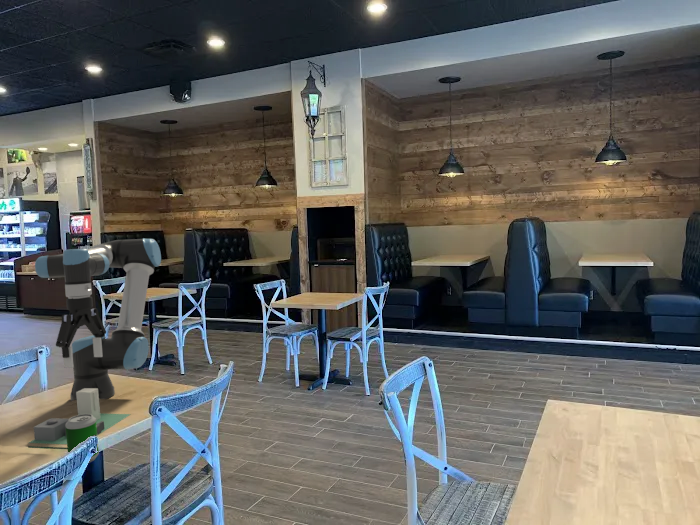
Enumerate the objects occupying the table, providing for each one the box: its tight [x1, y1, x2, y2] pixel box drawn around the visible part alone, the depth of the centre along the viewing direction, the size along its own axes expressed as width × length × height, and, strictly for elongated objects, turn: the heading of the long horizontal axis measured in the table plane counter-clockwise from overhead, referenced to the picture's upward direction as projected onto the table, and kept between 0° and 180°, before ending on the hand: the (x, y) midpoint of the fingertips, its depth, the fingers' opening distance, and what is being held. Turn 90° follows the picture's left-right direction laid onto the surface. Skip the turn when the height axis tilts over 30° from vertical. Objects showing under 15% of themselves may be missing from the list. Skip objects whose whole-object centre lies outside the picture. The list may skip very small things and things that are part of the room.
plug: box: [76, 388, 101, 420], centre depth 171 cm, size 4×6×10 cm
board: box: [28, 412, 132, 450], centre depth 165 cm, size 24×18×6 cm
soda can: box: [65, 414, 100, 464], centre depth 145 cm, size 8×8×12 cm
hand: (84, 362), depth 170 cm, fingers open, 13 cm apart
